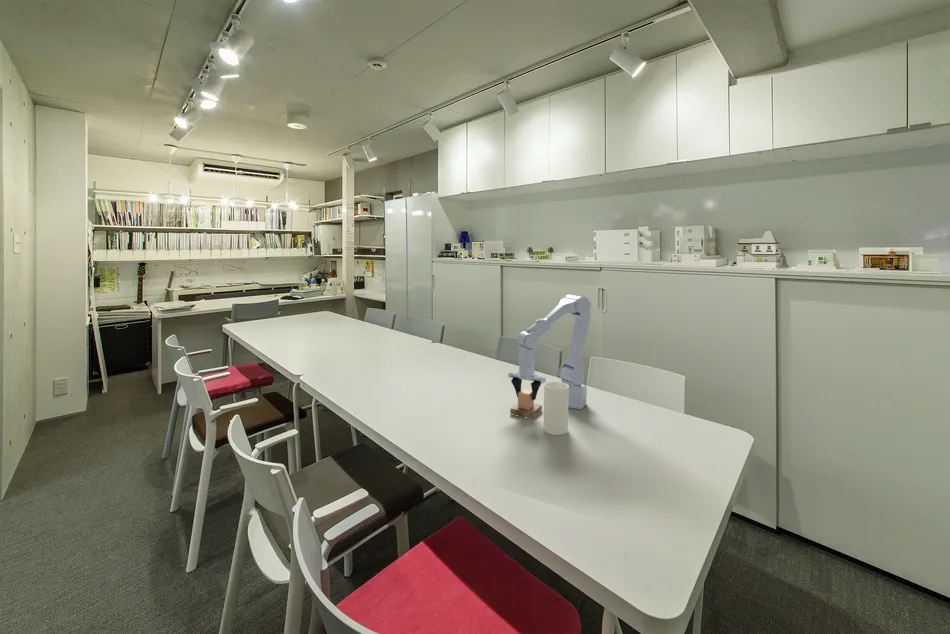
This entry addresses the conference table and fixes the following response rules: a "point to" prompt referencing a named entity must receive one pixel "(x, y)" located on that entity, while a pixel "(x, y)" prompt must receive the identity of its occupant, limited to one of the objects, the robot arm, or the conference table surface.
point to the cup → (556, 408)
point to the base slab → (526, 411)
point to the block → (525, 399)
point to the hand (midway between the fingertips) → (526, 398)
